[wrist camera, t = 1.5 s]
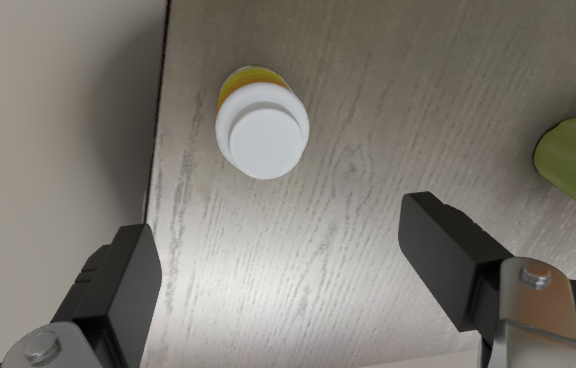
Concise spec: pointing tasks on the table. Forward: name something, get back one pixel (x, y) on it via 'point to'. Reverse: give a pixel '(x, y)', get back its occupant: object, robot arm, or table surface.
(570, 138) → the plant pot
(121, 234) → the robot arm
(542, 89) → the table surface
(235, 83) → the supplement bottle
